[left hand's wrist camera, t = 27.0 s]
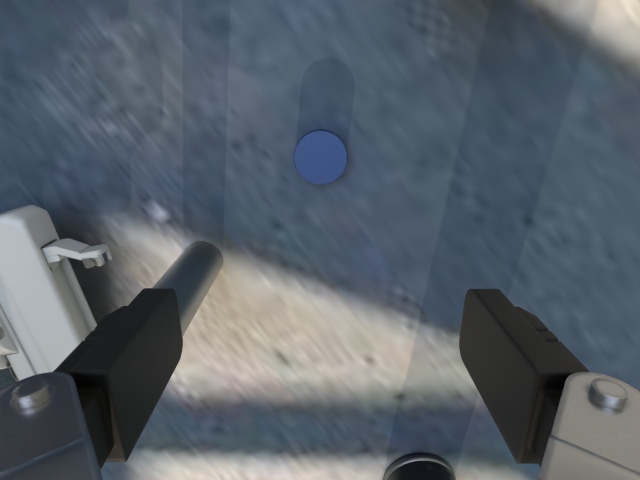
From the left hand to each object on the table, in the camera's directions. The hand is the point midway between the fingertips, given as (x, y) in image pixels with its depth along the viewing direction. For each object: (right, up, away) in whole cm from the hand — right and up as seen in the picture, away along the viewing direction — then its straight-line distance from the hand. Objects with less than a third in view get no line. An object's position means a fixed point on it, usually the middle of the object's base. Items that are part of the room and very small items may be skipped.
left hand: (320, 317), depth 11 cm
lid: (0, +10, +27) cm, 29 cm away
